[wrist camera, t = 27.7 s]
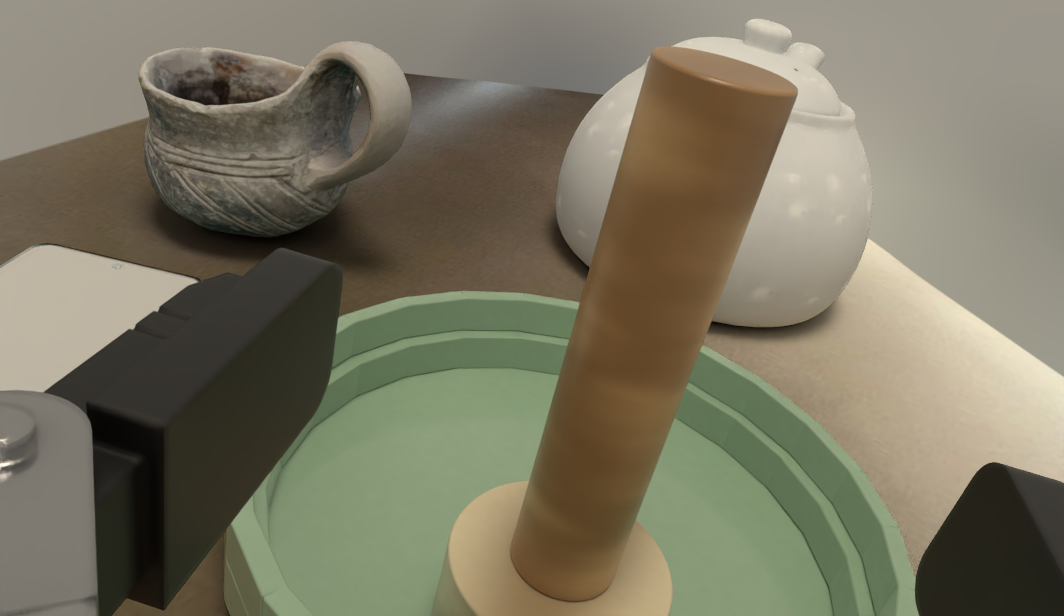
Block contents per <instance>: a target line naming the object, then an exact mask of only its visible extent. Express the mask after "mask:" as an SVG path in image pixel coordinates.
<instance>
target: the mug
mask: <svg viewBox="0 0 1064 616" xmlns="http://www.w3.org/2000/svg"><path fill="white" fill-rule="evenodd" d="M138 76H139V77H138V78H139V81H140V85H141V88H142V91H143V94H144V97H145V100H146V102H147V106H148V111H149V122H148V124H147V128H146V131H145V137H144V148H143V154H144V162H145V166H146V169H147V173H148V176H149V179H150V182H151V184H152V186H153V188H154V190H155V192H156V193H157V194H158V196H159V197H160V198H161V199H162V201H163V202H164V203H165V204H166V205H167V206H168V207H169V208H170V209H171V210H173V211H174V212H176V213H177V214H179V215H180V216H182V217H184V218H186V219H188V220H190V221H192V222H194V223H196V224H197V225H199V226H202V227H204V228H206V229H209V230H213V231H220V232H226V233H231V234H239V235H247V236H255V237H273V236H280V235H284V234H289V233H291V232H294V231H297V230H300V229H302V228H304V227H306V226H308V225H310V224H312V223H313V222H315V221H317V220H319V219H321V218H323V217H325V216H327V214H328V213H329V212H331V210H332V209H334V208H335V207H336V205H337V204H338V203H339V201H340V200H341V198H342V197H343V195H344V193H345V191H346V189H347V186H348V183H349V182H350V181H352V180H355V179H357V178H359V177H361V176H364V175H366V174H368V173H370V172H372V171H374V170H375V169H377V168H379V167H380V166H382V165H383V164H384V163H386V162H387V161H388V160H389V159H390V158H391V157H392V156H393V155H394V154H395V153H396V152H397V151H398V150H399V148H400V147H401V145H402V143H403V141H404V139H405V137H406V134H407V132H408V128H409V124H410V120H411V94H410V88H409V86H408V83H407V81H406V78H405V76H404V73H403V72H402V70H401V69H400V68H399V67H398V65H397V64H396V62H395V61H394V60H393V59H392V58H391V57H390V56H389V55H388V54H386V53H385V52H383V51H382V50H380V49H378V48H376V47H374V46H372V45H370V44H368V43H362V42H354V41H352V42H338V43H335V44H333V45H330V46H329V47H327V48H325V49H323V50H322V51H320V52H319V53H318V54H317V55H316V56H315V57H314V58H313V59H312V61H311V62H309V63H308V64H307V66H306V67H302V66H296V65H293V64H291V63H287V62H284V61H281V60H278V59H274V58H270V57H266V56H258V55H251V54H246V53H241V52H236V51H231V50H225V49H217V48H210V47H203V48H201V49H196V48H176V49H171V50H167V51H163V52H161V53H158V54H155V55H152V56H150V57H149V58H147V60H146V61H145V62H144V63H143V64H142V65H141V66H140V70H139V75H138ZM358 78H359V79H360V81H361V83H362V84H363V86H364V89H365V91H366V94H367V98H368V101H369V107H370V125H369V129H368V133H367V136H366V138H365V139H364V141H363V143H362V144H361V146H360V148H359V149H358V150H357V151H356V152H355V153H354V154H353V155H352V149H351V145H352V143H351V139H350V136H349V128H350V123H351V120H352V117H353V114H354V112H355V109H356V107H357V105H358V103H359V100H360V98H361V92H360V90H359V87H358V86H357V82H358Z"/></svg>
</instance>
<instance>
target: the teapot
mask: <svg viewBox="0 0 1064 616" xmlns="http://www.w3.org/2000/svg"><path fill="white" fill-rule="evenodd" d="M744 33H745V40H739V39H733V38H724V37H701V38H694V39H690V40H686V41H683V42H680V43H678V44H676V45H674V46H672V47H683V48H689V49H695V50H701V51H705V52H710V53H714V54H718V55H722V56H726V57H729V58H733V59H736V60H740V61H743V62H746V63H749V64H752V65H755V66H758V67H761V68H763V69H766V70H768V71H771V72H773V73H775V74H777V75H780V76H782V77H784V78H785V79H787V80H789V81H790V82H791V83H793V84H794V85H795V86H796V87H797V88H798V95H797V98H796V101H795V103H794V106H793V109H792V111H791V114H790V116H789V119H788V122H787V124H786V127H785V130H784V132H783V135H782V137H781V140H780V143H779V145H778V148H777V151H776V153H775V156H774V158H773V161H772V164H771V166H770V169H769V172H768V174H767V177H766V179H765V182H764V185H763V187H762V190H761V193H760V195H759V198H758V200H757V203H756V206H755V208H754V211H753V214H752V216H751V219H750V221H749V224H748V227H747V229H746V232H745V235H744V237H743V240H742V242H741V245H740V248H739V250H738V253H737V256H736V258H735V261H734V263H733V266H732V269H731V271H730V274H729V276H728V279H727V282H726V284H725V287H724V290H723V292H722V295H721V297H720V300H719V303H718V305H717V308H716V311H715V313H714V316H713V318H712V321H713V322H719V323H724V324H730V325H736V326H748V327H781V326H787V325H793V324H797V323H800V322H803V321H806V320H809V319H811V318H813V317H814V316H816V315H818V314H819V313H821V312H822V311H824V310H825V309H826V308H828V307H829V306H830V305H831V304H832V303H833V302H834V301H835V300H836V299H837V298H838V296H839V295H840V294H841V293H842V291H843V290H844V288H845V287H846V285H847V284H848V282H849V281H850V279H851V277H852V275H853V273H854V272H855V270H856V268H857V266H858V264H859V262H860V259H861V256H862V254H863V251H864V249H865V245H866V242H867V239H868V234H869V230H870V225H871V218H872V206H873V202H872V201H873V199H872V197H873V194H872V184H871V177H870V171H869V166H868V162H867V158H866V155H865V151H864V149H863V145H862V143H861V140H860V137H859V135H858V133H857V131H856V128H855V117H856V116H855V113H854V112H853V110H852V109H851V108H849V107H848V106H847V105H845V104H844V103H842V102H840V101H839V99H838V96H837V94H836V92H835V91H834V89H833V87H832V86H831V84H830V83H829V82H828V81H827V79H826V78H825V77H824V76H823V75H821V74H820V73H819V72H818V71H817V69H818V68H819V66H820V65H821V64H822V63H823V61H824V59H825V55H824V53H823V52H822V51H821V50H820V49H819V48H817V47H815V46H813V45H811V44H807V43H794V44H792V45H791V46H790V47H789V48H788V50H787V52H786V53H785V52H782V50H783V49H784V48H785V46H787V45H788V44H789V42H790V41H791V39H792V34H791V32H790V30H789V29H788V28H786V27H784V26H782V25H780V24H777V23H775V22H772V21H768V20H764V19H752V20H750V21H748V22H747V23H746V24H745V27H744ZM649 58H650V56H649V57H648V59H647V61H646V63H645V64H644V65H643V66H642V67H640V68H639V69H637V70H636V71H634V72H633V73H631V74H630V75H628V76H626V77H625V78H624V79H622V80H621V81H620V82H619V83H617V84H616V85H615V86H614V87H612V88H611V89H610V90H609V91H608V92H607V93H606V94H605V95H604V96H603V97H602V98H601V99H600V100H599V101H598V102H597V103H596V104H595V105H594V106H593V107H592V109H591V110H590V111H589V112H588V113H587V115H586V116H585V118H584V119H583V121H582V122H581V124H580V125H579V127H578V128H577V130H576V132H575V134H574V136H573V138H572V140H571V142H570V144H569V147H568V149H567V151H566V154H565V157H564V160H563V163H562V167H561V170H560V175H559V180H558V186H557V192H556V216H557V221H558V225H559V228H560V230H561V233H562V235H563V237H564V239H565V241H566V242H567V244H568V245H569V247H570V248H571V249H572V251H573V252H574V253H575V254H576V255H577V256H578V257H579V258H580V259H581V260H582V261H583V262H584V263H585V264H586V265H587V266H588V267H590V265H591V262H592V258H593V255H594V251H595V248H596V244H597V241H598V237H599V234H600V230H601V227H602V223H603V219H604V216H605V212H606V209H607V205H608V202H609V198H610V195H611V191H612V188H613V184H614V181H615V177H616V174H617V170H618V167H619V163H620V160H621V156H622V153H623V149H624V146H625V142H626V139H627V135H628V132H629V128H630V125H631V121H632V118H633V114H634V111H635V107H636V104H637V100H638V97H639V93H640V90H641V86H642V83H643V79H644V76H645V72H646V69H647V65H648V62H649Z"/></svg>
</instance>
